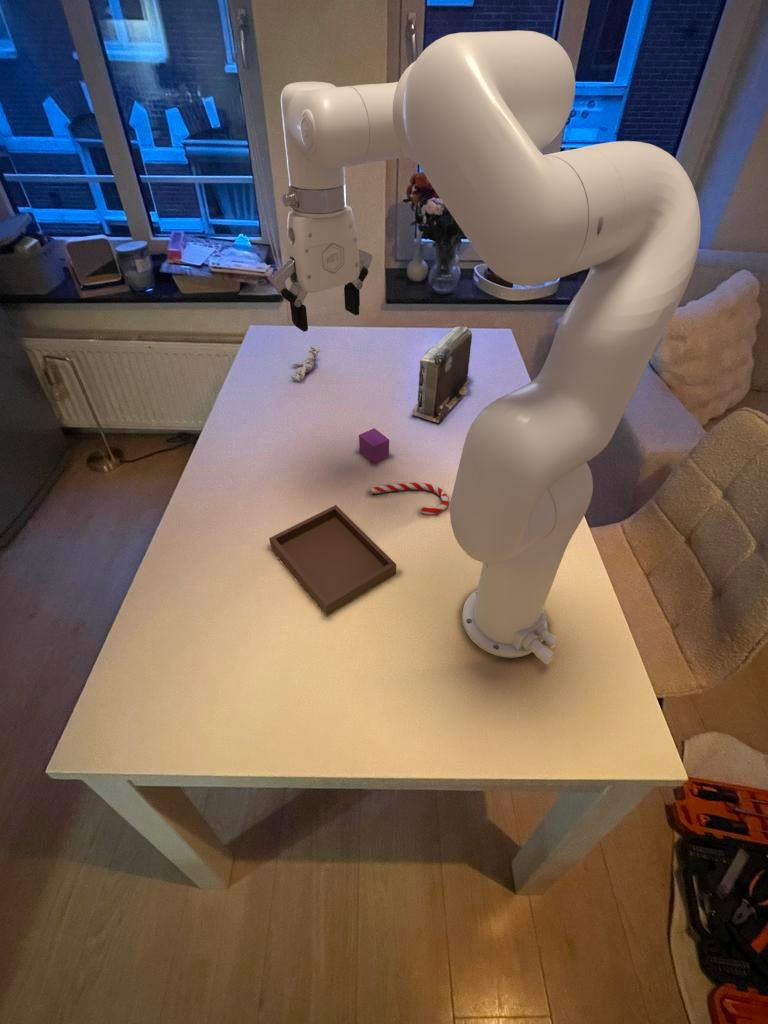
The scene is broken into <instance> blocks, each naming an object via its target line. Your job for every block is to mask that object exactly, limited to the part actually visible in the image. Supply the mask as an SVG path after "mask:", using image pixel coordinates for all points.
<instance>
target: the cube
mask: <svg viewBox="0 0 768 1024" xmlns="http://www.w3.org/2000/svg"><path fill="white" fill-rule="evenodd" d="M358 450H359V454H361V455H362V456H363V457H365V458H366V459H367V460H368V461H369V462H371V463H372V464H373V465H374V464H377V463H379V462H381V461H383V460H385V459H387V458H389V457H390V439H389V438H388V437H387V436H386V435H384V434H383V433H382V432H381V431H379V430H377V428H376V427H375V428H371V429H369V430H367V431H365V432H363V433H360V434H358Z"/></svg>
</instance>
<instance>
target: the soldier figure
mask: <svg viewBox="0 0 768 1024" xmlns="http://www.w3.org/2000/svg"><path fill="white" fill-rule="evenodd" d="M309 348H310V349H308V350H307V352H308V355H307V356H306V358H305V359H304V362H303V361H302V362H295V363H293V364H292V366H294V367H295V368H296V367H297V366H298V367H299V368H296V371H295V374H296V376H294V375H292V376H290V377H291V379H292V380H294V381H296V382H300V379H301V378H305V374H306V373H308V372H310V371H312V370H313V368H314V365H315V364H314V362H315V361H316V359H317V357H318V354H319V353H320V352H321V349H320V348H319V347H317V346H314V345H310V346H309Z"/></svg>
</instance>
